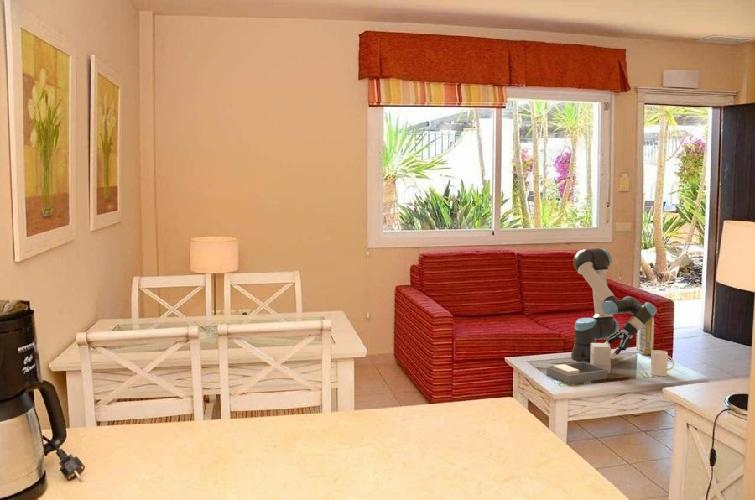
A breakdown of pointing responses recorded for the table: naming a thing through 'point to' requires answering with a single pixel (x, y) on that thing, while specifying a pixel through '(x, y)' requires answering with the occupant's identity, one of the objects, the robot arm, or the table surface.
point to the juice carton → (645, 338)
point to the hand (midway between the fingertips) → (605, 354)
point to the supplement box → (601, 356)
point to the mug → (659, 363)
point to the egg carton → (566, 369)
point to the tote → (585, 373)
